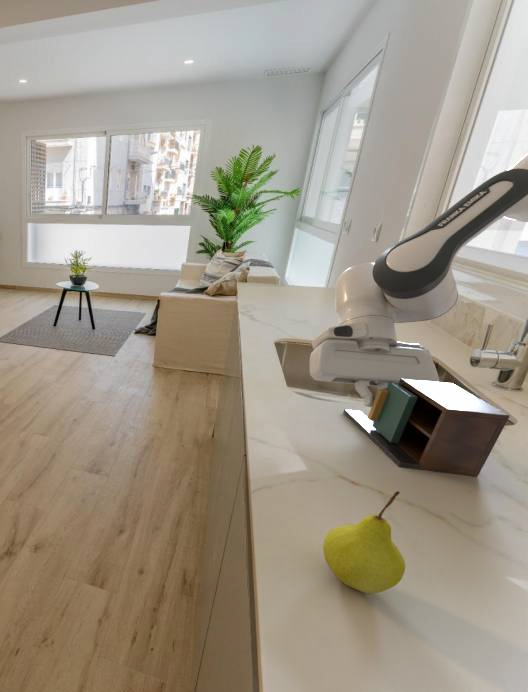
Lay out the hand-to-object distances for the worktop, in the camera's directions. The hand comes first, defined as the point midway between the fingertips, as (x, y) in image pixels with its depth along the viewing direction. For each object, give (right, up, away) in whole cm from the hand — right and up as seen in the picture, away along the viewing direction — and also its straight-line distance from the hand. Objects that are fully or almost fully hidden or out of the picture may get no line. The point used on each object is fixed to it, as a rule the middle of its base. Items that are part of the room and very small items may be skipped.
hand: (376, 406), depth 78 cm
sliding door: (-1, -5, -2) cm, 5 cm away
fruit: (-28, -17, -30) cm, 45 cm away
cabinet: (+3, -6, -2) cm, 7 cm away
